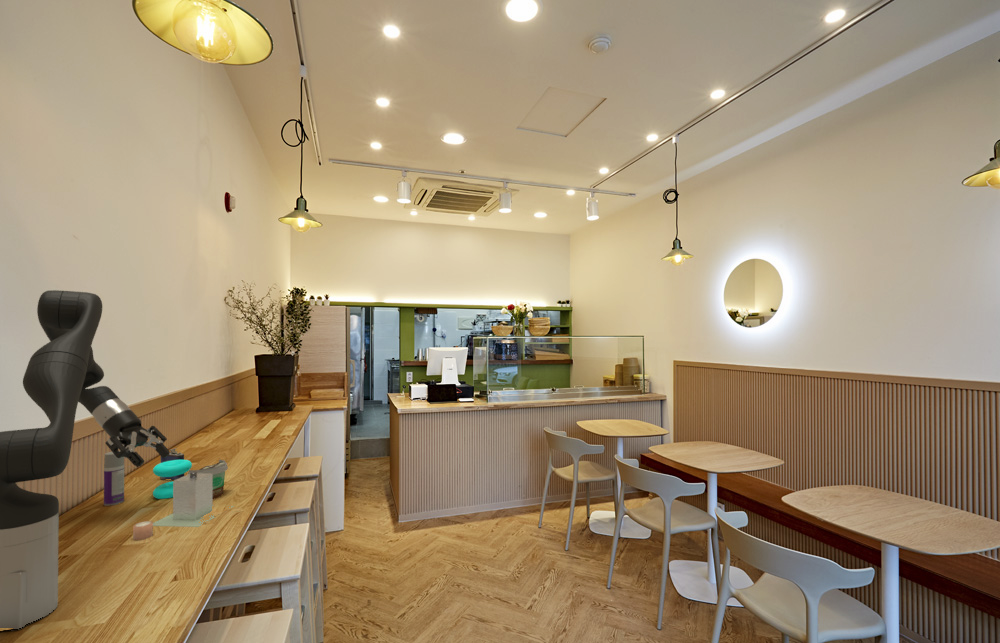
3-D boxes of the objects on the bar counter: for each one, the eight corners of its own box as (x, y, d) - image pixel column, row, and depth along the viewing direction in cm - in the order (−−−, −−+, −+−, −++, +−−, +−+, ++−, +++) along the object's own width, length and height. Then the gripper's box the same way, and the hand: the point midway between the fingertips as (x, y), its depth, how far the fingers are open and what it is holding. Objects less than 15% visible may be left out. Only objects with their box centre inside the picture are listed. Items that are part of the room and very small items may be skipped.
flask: (158, 479, 158) (158, 448, 159) (166, 477, 161) (166, 446, 162) (179, 481, 156) (180, 450, 157) (187, 479, 159) (187, 448, 159)
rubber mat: (198, 528, 118) (198, 526, 118) (147, 527, 119) (147, 525, 119) (234, 507, 132) (234, 506, 132) (188, 506, 133) (188, 505, 133)
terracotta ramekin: (147, 541, 111) (147, 526, 111) (129, 542, 110) (129, 527, 111) (156, 534, 115) (156, 520, 115) (139, 535, 114) (139, 521, 114)
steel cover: (195, 520, 122) (195, 476, 122) (173, 519, 123) (173, 476, 123) (212, 511, 128) (212, 469, 129) (191, 510, 129) (191, 469, 129)
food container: (204, 506, 133) (204, 471, 134) (187, 504, 135) (187, 470, 135) (237, 491, 146) (237, 460, 146) (220, 490, 147) (220, 459, 147)
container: (100, 504, 136) (101, 453, 136) (119, 499, 140) (119, 450, 141) (108, 506, 134) (108, 455, 134) (127, 501, 138) (127, 451, 138)
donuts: (199, 459, 148) (172, 468, 138) (199, 490, 148) (172, 501, 138) (173, 457, 150) (144, 466, 140) (173, 488, 149) (144, 499, 139)
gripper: (101, 413, 121) (141, 457, 120) (147, 405, 135) (183, 444, 134) (82, 433, 121) (122, 477, 120) (130, 422, 135) (166, 462, 134)
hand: (154, 460), depth 127 cm, fingers open, 8 cm apart
